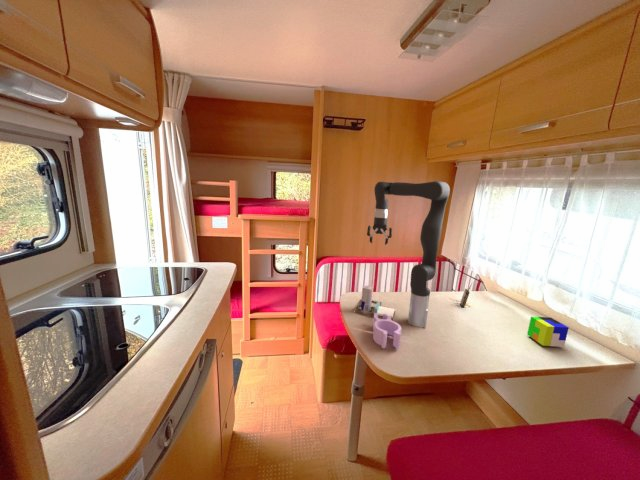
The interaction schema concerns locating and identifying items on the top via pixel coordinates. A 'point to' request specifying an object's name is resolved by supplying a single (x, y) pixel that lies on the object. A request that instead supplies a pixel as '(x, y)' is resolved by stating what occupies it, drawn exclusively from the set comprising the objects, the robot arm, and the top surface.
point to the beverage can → (366, 298)
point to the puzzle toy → (547, 331)
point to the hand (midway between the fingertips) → (378, 243)
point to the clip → (386, 330)
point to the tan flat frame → (371, 311)
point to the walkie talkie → (464, 298)
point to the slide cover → (383, 310)
